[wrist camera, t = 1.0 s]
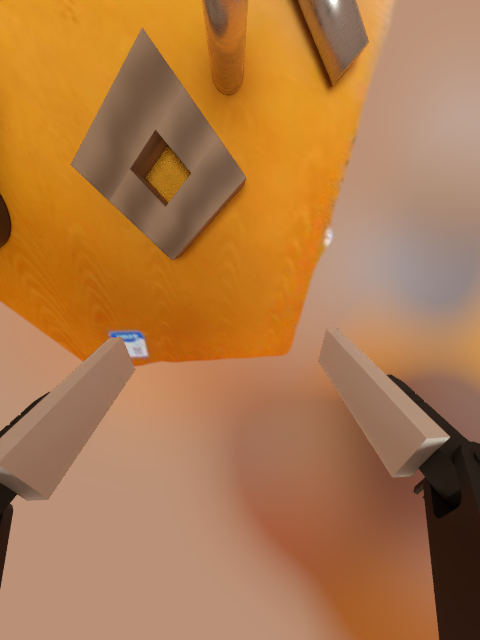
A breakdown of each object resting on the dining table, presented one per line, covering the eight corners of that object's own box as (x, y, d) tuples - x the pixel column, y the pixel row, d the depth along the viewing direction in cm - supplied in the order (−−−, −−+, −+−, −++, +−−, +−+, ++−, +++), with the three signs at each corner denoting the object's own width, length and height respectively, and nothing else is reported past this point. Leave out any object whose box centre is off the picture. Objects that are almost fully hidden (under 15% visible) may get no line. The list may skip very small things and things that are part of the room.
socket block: (95, 174, 26) (70, 164, 22) (158, 64, 21) (142, 27, 18) (179, 256, 32) (172, 260, 28) (244, 184, 27) (246, 177, 24)
